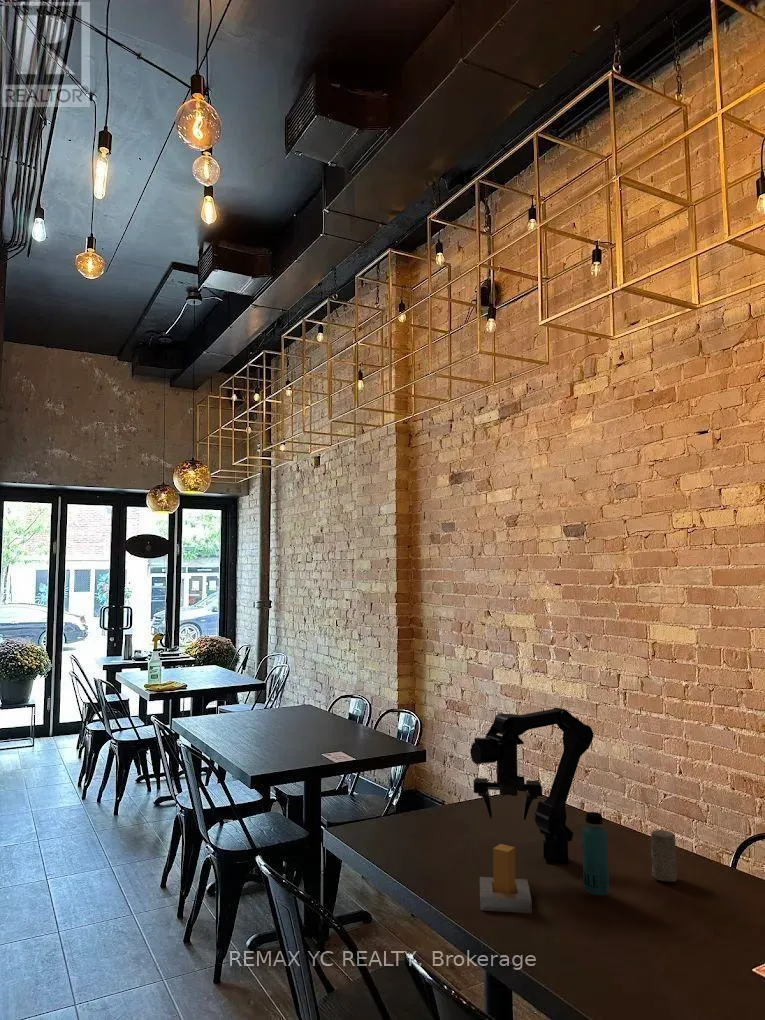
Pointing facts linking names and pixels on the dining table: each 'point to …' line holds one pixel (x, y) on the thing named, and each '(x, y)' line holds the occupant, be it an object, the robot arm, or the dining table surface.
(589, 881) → the beverage bottle
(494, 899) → the gray square socket base
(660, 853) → the decorative vessel
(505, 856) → the orange rectangular block
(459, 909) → the dining table surface
